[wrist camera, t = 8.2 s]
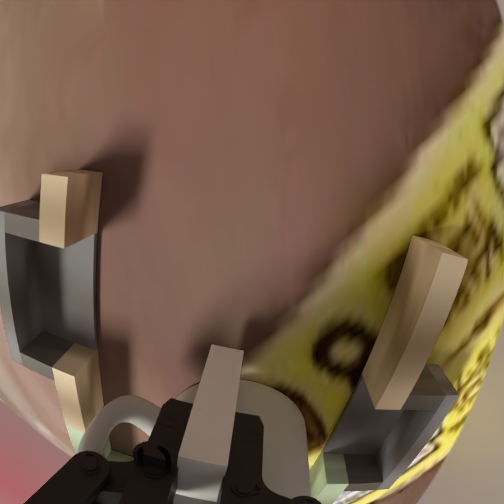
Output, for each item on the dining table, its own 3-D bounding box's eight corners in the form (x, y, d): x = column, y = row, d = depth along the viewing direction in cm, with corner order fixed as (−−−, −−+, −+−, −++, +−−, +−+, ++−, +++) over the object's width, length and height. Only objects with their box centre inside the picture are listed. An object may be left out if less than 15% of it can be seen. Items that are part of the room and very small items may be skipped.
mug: (332, 425, 17) (358, 581, 7) (241, 476, 19) (227, 602, 9) (177, 307, 15) (72, 494, 5) (103, 386, 17) (22, 516, 7)
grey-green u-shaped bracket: (31, 164, 14) (-6, 168, 11) (483, 255, 14) (516, 273, 11) (62, 437, 20) (47, 460, 17) (349, 496, 20) (353, 523, 17)
